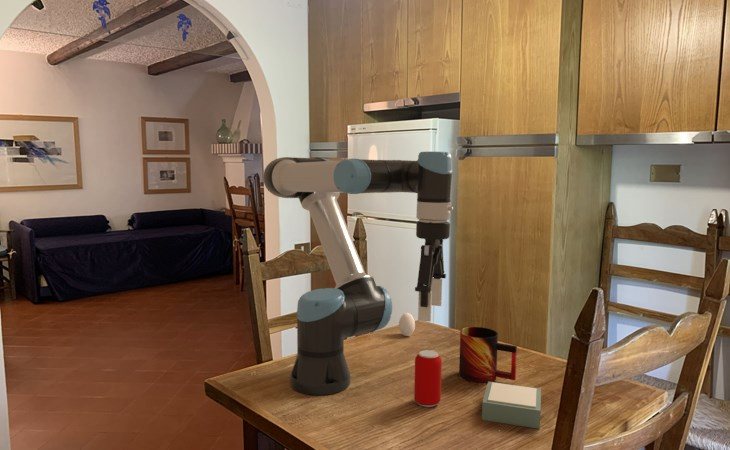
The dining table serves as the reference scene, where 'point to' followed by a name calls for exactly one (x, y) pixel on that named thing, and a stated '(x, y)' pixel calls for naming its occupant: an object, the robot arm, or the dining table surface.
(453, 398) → the dining table surface
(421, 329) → the dining table surface
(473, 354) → the mug
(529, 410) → the base
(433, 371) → the beverage can
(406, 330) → the egg
